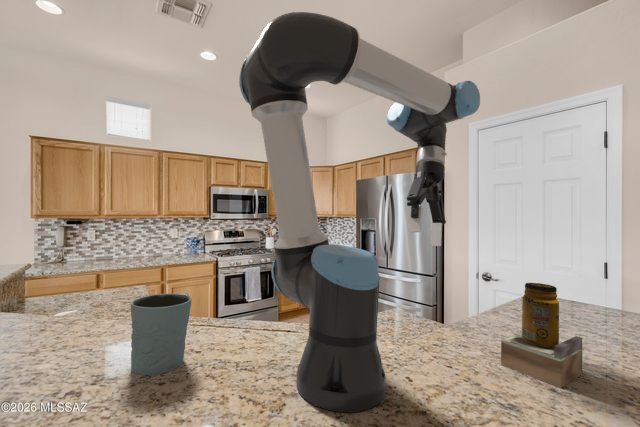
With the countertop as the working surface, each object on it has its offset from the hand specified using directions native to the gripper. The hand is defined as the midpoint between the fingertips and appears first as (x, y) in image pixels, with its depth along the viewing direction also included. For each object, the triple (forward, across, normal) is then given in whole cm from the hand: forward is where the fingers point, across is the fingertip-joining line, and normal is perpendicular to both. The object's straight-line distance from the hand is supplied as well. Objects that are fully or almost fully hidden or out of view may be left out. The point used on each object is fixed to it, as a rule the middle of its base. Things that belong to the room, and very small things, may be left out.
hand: (426, 239), depth 75 cm
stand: (+25, +8, -22) cm, 34 cm away
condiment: (+21, +6, -22) cm, 31 cm away
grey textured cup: (+36, -45, +31) cm, 65 cm away
